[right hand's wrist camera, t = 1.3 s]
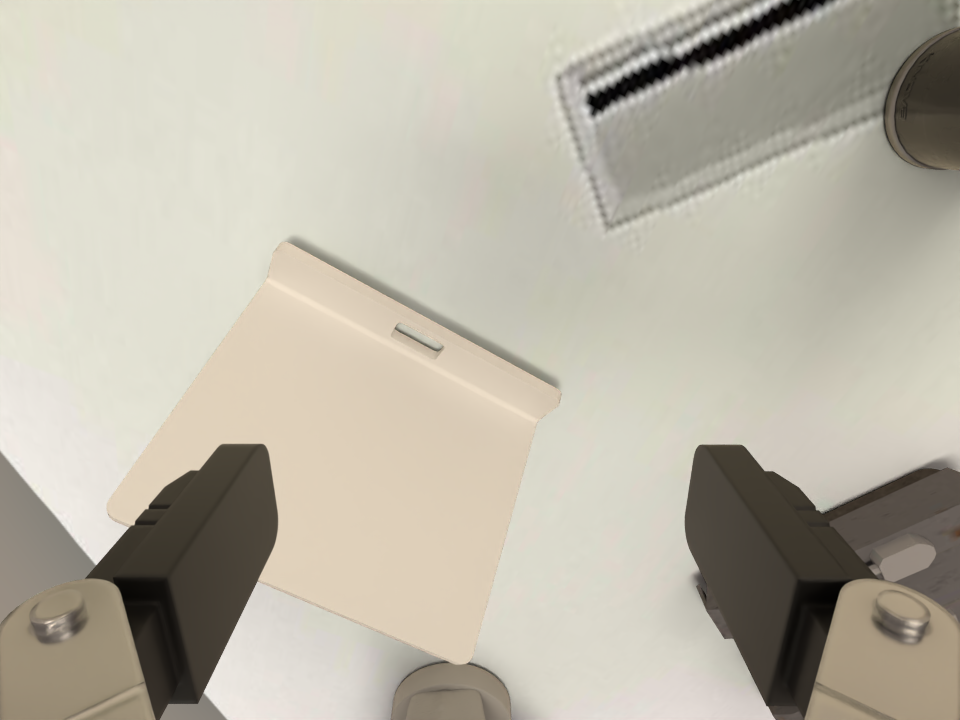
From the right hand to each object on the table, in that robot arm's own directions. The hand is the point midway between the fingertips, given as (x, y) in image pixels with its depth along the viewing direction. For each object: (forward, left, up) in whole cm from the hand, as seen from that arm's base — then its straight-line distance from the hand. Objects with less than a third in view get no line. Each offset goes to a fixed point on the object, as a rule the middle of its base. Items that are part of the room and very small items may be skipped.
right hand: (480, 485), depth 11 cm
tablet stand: (+5, +17, -37) cm, 41 cm away
